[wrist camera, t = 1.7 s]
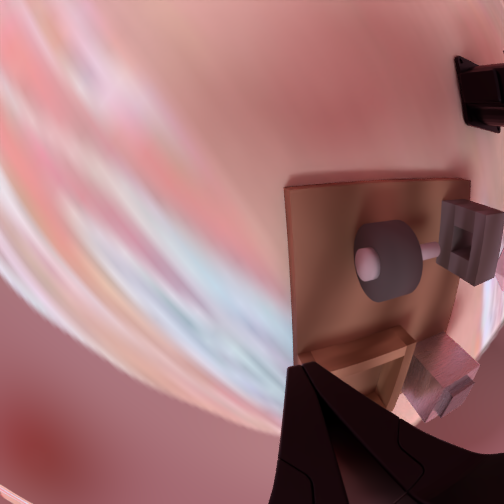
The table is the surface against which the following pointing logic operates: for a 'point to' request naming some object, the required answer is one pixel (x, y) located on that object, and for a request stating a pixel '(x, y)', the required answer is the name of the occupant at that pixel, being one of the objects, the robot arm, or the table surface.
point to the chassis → (347, 284)
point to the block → (438, 376)
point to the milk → (500, 270)
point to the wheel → (390, 259)
